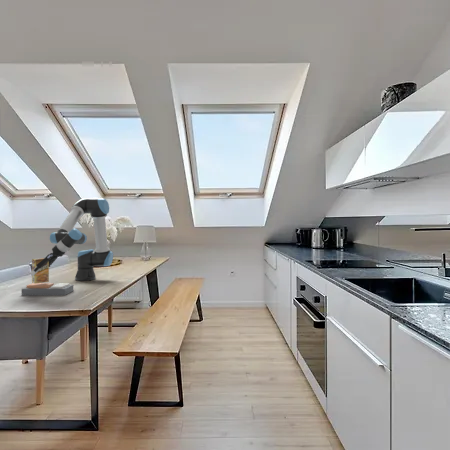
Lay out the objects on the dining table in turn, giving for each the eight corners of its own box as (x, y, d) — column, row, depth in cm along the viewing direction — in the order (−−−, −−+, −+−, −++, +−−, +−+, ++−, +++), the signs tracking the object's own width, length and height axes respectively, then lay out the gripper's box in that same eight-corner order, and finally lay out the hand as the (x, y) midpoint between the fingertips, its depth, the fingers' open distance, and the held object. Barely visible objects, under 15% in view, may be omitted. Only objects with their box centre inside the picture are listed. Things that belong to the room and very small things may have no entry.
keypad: (32, 290, 228) (32, 282, 228) (73, 290, 229) (73, 282, 229) (21, 295, 214) (21, 286, 214) (64, 295, 215) (64, 286, 215)
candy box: (35, 283, 217) (35, 259, 217) (31, 283, 219) (31, 258, 219) (49, 281, 224) (49, 258, 224) (45, 281, 226) (45, 257, 226)
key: (33, 287, 225) (33, 283, 225) (53, 287, 226) (53, 283, 226) (26, 289, 217) (26, 285, 217) (47, 289, 218) (47, 285, 218)
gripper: (57, 254, 211) (30, 280, 211) (71, 251, 233) (47, 275, 232) (48, 245, 211) (21, 271, 210) (63, 243, 233) (39, 267, 232)
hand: (35, 273), depth 221 cm, fingers closed on candy box, 9 cm apart
